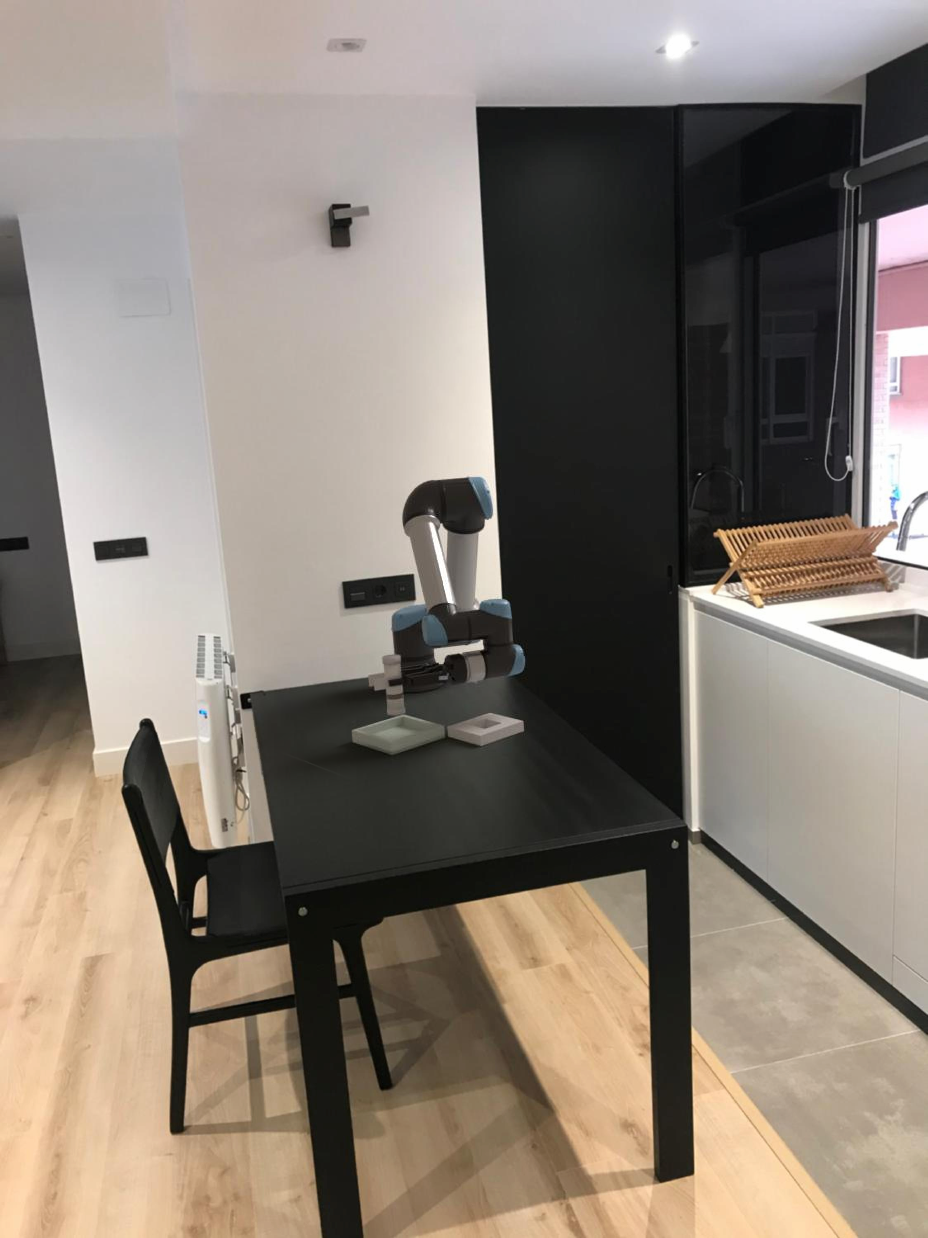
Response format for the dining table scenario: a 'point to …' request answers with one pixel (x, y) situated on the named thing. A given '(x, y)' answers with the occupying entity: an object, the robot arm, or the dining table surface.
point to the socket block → (485, 729)
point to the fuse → (394, 694)
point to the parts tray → (398, 734)
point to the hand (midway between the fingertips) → (371, 682)
